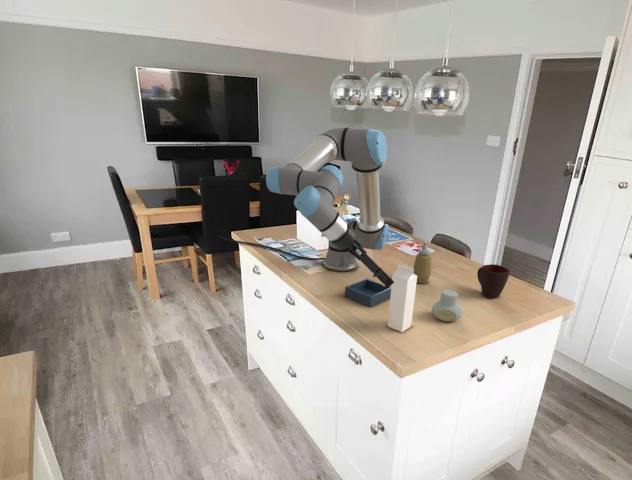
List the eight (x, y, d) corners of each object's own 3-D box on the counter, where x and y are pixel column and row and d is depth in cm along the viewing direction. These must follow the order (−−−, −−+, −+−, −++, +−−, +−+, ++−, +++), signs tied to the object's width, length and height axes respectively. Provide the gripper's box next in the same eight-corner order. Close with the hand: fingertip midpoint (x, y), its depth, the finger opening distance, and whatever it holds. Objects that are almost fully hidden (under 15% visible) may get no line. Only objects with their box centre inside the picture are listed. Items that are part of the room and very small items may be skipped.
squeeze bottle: (429, 285, 179) (434, 245, 171) (410, 283, 180) (415, 243, 173) (430, 279, 186) (435, 240, 179) (412, 276, 187) (417, 238, 180)
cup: (489, 302, 168) (495, 274, 163) (467, 288, 179) (472, 262, 174) (507, 298, 172) (513, 271, 167) (485, 286, 183) (490, 260, 178)
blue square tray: (344, 296, 163) (345, 286, 161) (366, 287, 172) (367, 278, 171) (370, 307, 156) (371, 297, 154) (391, 297, 165) (392, 287, 164)
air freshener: (429, 320, 149) (433, 294, 145) (432, 310, 157) (435, 286, 153) (460, 325, 147) (465, 299, 143) (461, 315, 155) (465, 290, 151)
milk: (397, 320, 147) (403, 261, 138) (411, 326, 144) (418, 266, 135) (387, 326, 143) (392, 266, 134) (401, 332, 140) (408, 271, 131)
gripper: (319, 229, 132) (361, 271, 143) (342, 255, 111) (389, 301, 122) (336, 212, 131) (376, 255, 143) (362, 235, 111) (407, 283, 122)
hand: (382, 276), depth 133 cm, fingers open, 13 cm apart
